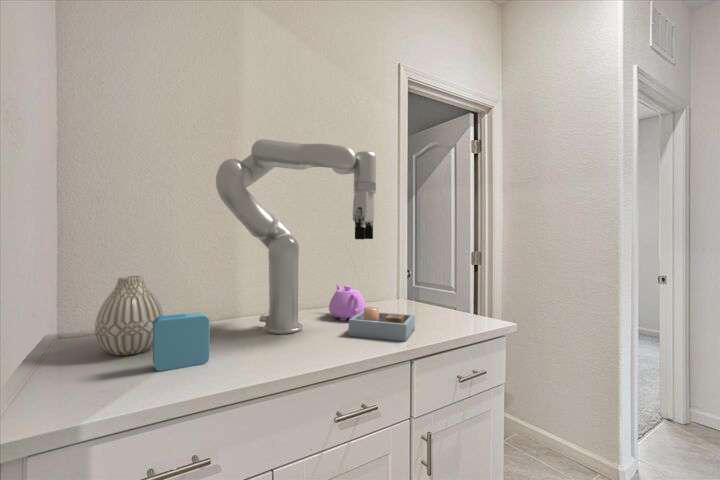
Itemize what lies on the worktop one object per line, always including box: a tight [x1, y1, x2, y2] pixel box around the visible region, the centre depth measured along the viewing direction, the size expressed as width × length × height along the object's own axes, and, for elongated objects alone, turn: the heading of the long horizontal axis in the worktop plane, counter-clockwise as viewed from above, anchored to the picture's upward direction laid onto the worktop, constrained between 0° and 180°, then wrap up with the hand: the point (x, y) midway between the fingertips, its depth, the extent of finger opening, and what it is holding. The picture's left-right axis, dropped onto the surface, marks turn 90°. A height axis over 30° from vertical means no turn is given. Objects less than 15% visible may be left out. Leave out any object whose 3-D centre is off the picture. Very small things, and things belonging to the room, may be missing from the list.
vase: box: [94, 275, 165, 356], centre depth 101 cm, size 16×16×20 cm
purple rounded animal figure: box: [328, 282, 367, 322], centre depth 145 cm, size 20×14×12 cm
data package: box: [152, 311, 211, 372], centre depth 91 cm, size 12×4×12 cm, turn 122°
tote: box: [348, 311, 416, 342], centre depth 123 cm, size 18×14×5 cm
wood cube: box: [385, 314, 404, 324], centre depth 121 cm, size 5×5×5 cm
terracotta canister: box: [364, 306, 380, 321], centre depth 124 cm, size 5×5×7 cm
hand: (364, 239), depth 129 cm, fingers open, 9 cm apart
